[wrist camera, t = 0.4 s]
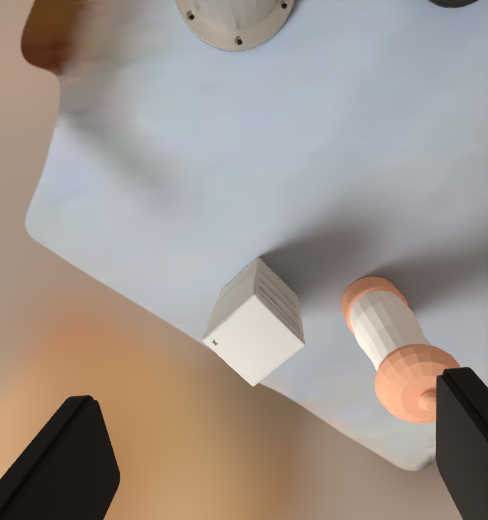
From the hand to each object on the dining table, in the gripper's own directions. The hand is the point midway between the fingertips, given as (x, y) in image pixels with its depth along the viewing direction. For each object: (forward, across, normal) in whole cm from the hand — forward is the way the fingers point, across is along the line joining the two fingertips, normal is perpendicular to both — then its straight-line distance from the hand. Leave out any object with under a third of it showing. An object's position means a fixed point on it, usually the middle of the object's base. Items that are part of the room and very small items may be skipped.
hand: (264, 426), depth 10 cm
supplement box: (+36, +3, +10) cm, 37 cm away
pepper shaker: (+36, -11, +13) cm, 40 cm away
